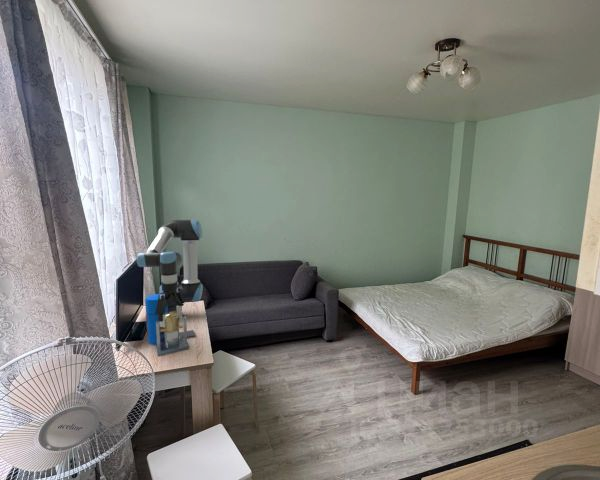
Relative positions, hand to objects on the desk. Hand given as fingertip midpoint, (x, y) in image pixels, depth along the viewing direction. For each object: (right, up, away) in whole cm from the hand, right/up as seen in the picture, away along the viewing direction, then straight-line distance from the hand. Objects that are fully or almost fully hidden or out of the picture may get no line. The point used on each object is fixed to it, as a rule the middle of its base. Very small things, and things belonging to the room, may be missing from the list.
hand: (171, 322), depth 159 cm
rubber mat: (+2, -12, +17) cm, 21 cm away
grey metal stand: (0, -14, +2) cm, 14 cm away
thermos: (-12, -13, +11) cm, 20 cm away
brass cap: (0, -4, +1) cm, 4 cm away
